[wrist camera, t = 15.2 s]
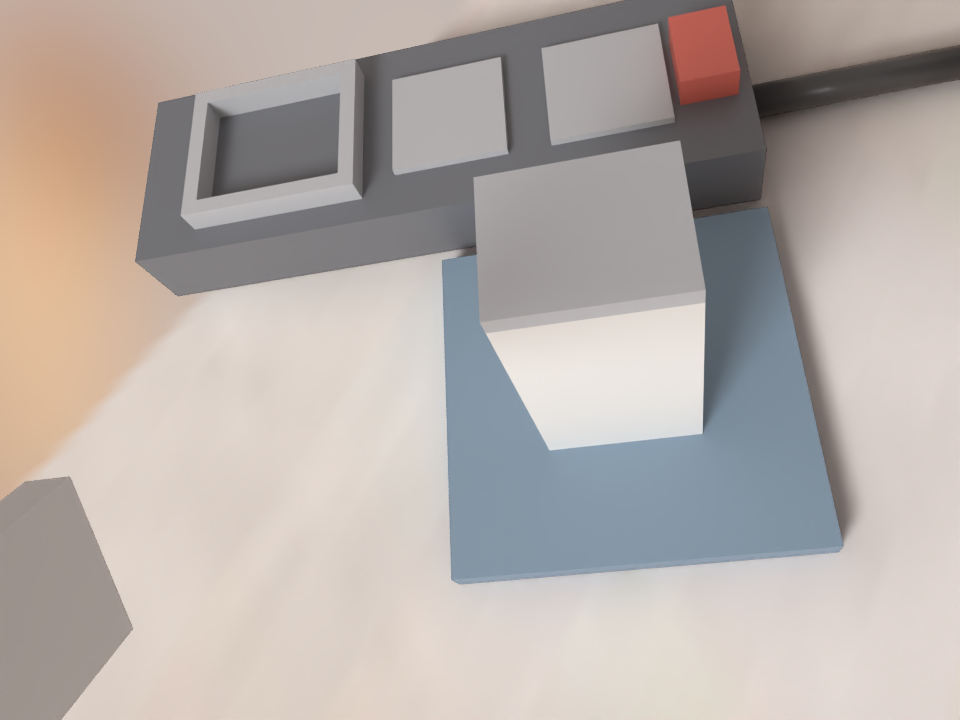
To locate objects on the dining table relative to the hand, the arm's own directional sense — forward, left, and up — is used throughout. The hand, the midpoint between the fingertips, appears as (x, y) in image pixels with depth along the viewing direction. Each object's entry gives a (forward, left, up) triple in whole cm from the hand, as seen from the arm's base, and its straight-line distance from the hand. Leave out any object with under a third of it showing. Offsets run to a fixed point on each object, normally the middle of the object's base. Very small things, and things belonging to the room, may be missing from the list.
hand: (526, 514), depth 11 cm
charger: (-1, -8, -16) cm, 17 cm away
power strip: (+1, -19, -17) cm, 25 cm away
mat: (-1, -8, -17) cm, 18 cm away
